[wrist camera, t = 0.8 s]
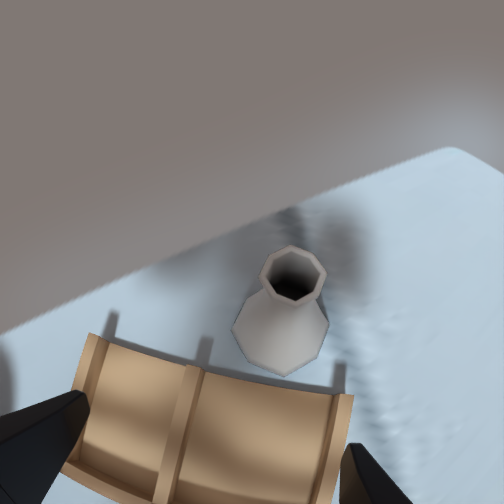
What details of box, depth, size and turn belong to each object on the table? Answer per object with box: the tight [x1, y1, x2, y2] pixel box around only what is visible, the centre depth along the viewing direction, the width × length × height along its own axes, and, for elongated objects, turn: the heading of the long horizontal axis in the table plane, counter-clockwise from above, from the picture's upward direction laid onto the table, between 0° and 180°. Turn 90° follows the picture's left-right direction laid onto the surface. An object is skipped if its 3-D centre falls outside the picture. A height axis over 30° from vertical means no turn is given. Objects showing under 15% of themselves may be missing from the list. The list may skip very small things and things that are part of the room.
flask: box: [231, 245, 329, 377], centre depth 19 cm, size 7×7×10 cm
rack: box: [60, 333, 354, 504], centre depth 18 cm, size 12×20×3 cm, turn 78°
